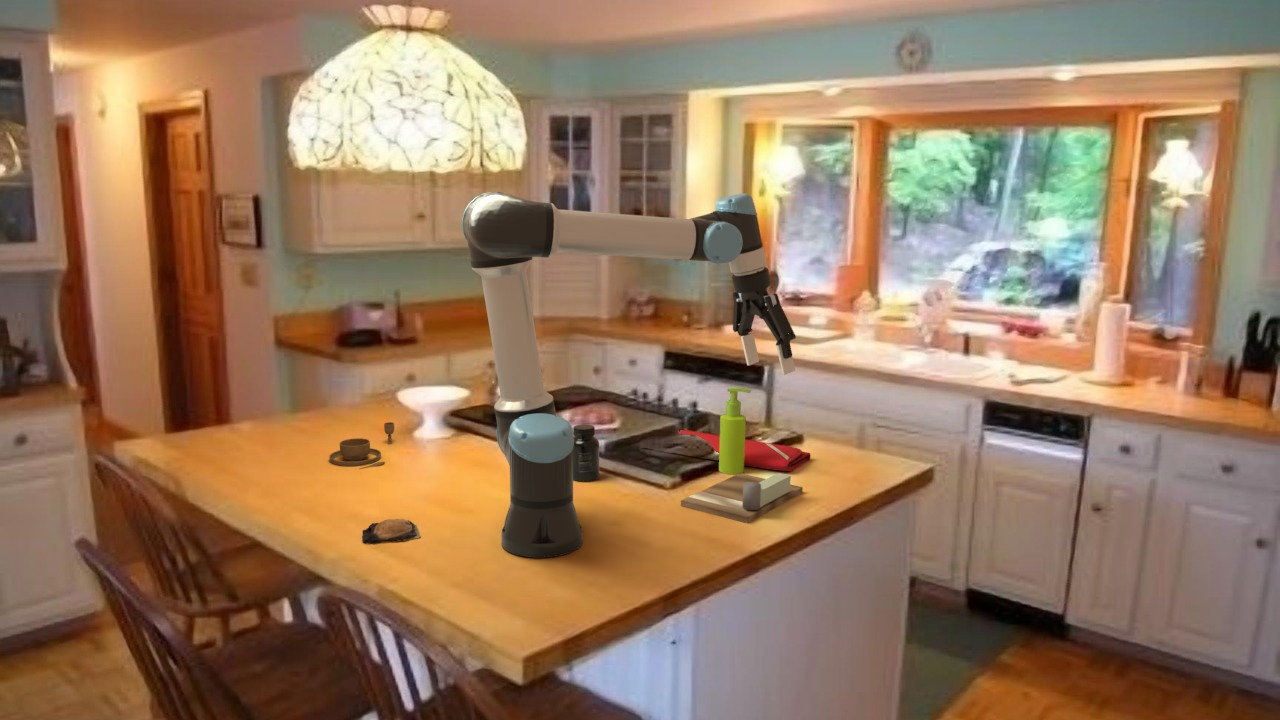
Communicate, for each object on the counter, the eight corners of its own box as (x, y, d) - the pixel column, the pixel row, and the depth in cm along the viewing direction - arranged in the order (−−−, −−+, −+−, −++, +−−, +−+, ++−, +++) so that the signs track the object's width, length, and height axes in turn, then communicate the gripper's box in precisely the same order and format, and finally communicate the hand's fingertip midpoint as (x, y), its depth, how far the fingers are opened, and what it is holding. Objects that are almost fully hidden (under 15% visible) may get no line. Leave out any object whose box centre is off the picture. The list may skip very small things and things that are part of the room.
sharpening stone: (754, 511, 190) (755, 488, 190) (739, 507, 193) (739, 485, 192) (791, 491, 203) (792, 470, 202) (776, 488, 205) (777, 466, 204)
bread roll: (416, 527, 185) (416, 509, 185) (422, 542, 177) (421, 523, 177) (360, 533, 182) (359, 515, 181) (363, 549, 174) (362, 530, 173)
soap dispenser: (747, 475, 218) (750, 391, 215) (717, 473, 220) (719, 389, 216) (749, 468, 224) (752, 386, 220) (720, 466, 225) (722, 384, 222)
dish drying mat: (667, 436, 253) (667, 422, 252) (811, 461, 232) (812, 446, 231) (636, 449, 240) (636, 435, 239) (786, 477, 219) (786, 462, 218)
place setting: (316, 457, 230) (314, 434, 228) (391, 443, 243) (390, 421, 242) (347, 474, 217) (346, 450, 216) (425, 458, 230) (424, 435, 229)
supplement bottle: (604, 475, 217) (604, 425, 215) (590, 484, 211) (590, 432, 209) (578, 471, 220) (578, 421, 218) (563, 479, 214) (563, 428, 211)
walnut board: (747, 523, 188) (747, 516, 188) (680, 505, 197) (680, 500, 197) (802, 492, 207) (802, 486, 207) (739, 478, 216) (739, 472, 216)
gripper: (799, 268, 182) (820, 370, 188) (733, 262, 205) (753, 354, 210) (767, 279, 180) (789, 383, 185) (704, 272, 202) (725, 365, 207)
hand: (770, 368), depth 197 cm, fingers open, 13 cm apart
